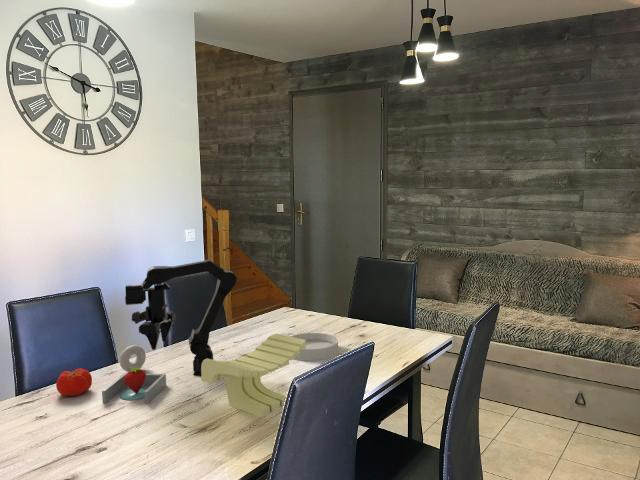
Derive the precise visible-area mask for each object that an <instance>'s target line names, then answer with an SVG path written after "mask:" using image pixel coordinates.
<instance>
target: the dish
mask: <svg viewBox="0 0 640 480" xmlns="http://www.w3.org/2000/svg"><path fill="white" fill-rule="evenodd" d="M289 336H290V335H289ZM290 337H295V338H299V339H304V340H306V348H305V349H303V350H301V349H300V354H298V355H295V359H293V360H295V361H299V362H320V361H326V360H330V359H333V358H334V357H335V356H338V354H339V350H340V349H339V340H338V337H336V336H335V335H331V334H327V333H321V332H306V333H298V334H295V335H294V334H293V335H291V336H290Z"/></svg>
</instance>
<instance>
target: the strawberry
mask: <svg viewBox="0 0 640 480" xmlns="http://www.w3.org/2000/svg"><path fill="white" fill-rule="evenodd" d="M132 363H133V362H132ZM133 364H134V363H133ZM134 365H135V364H134ZM135 366H136V365H135ZM136 367H137V366H136ZM130 368H131V367H130ZM142 368H143V366H142V367H139V368H131V369H132V370H129V371H130V372H129V371H126V373H125V374H126V375H125V377H124V381H125V383H126V385H127V386H126V387H127V388H128V389H131V390H132V391H133V392H134V393H138V392H139V390H140V388H141V387H143V386H142V385H143V383H144V381H145V378H146V374H147V373H146V371H145V370H143V369H142Z"/></svg>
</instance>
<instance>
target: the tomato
mask: <svg viewBox="0 0 640 480" xmlns="http://www.w3.org/2000/svg"><path fill="white" fill-rule="evenodd" d="M55 384H56V385H55V387H56V388H55V389H56V390H57V393H59V394H60V395H61V396H65V397H66V396H67V397H69V396H71V397H72V396H73V397H75V396H77V397H78V396H79V395H81V394H82V393H85V392H87V391H88V390H89V389H90V388H91V387H92V384H93V377H92V374H91V373H90V371H89V370H87V369H84V368H76V369H74V370H72V371H71V370H70V371H69V370H65V371H63V372H61V373H60V375H59V377H58V378H57V380H56V383H55Z"/></svg>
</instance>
